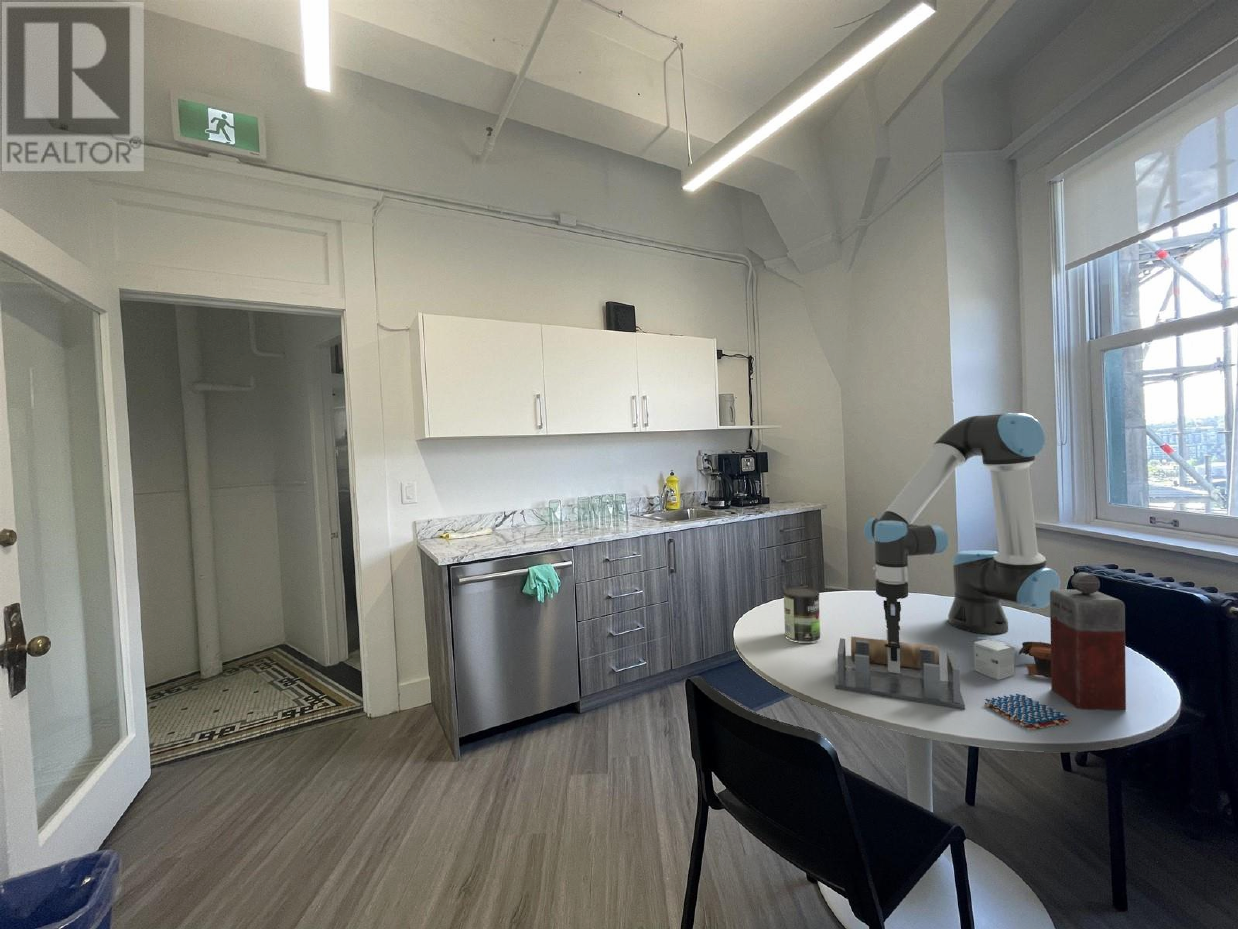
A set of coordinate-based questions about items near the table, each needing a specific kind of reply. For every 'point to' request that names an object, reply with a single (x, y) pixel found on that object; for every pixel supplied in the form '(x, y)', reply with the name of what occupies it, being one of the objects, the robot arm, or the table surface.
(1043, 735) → the table surface
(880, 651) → the tan cylinder
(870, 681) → the bracket
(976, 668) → the skincare box
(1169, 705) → the table surface
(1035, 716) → the woven mat
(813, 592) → the coffee can
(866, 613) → the table surface
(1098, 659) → the red grey decanter
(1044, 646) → the orange brown curved figurine
